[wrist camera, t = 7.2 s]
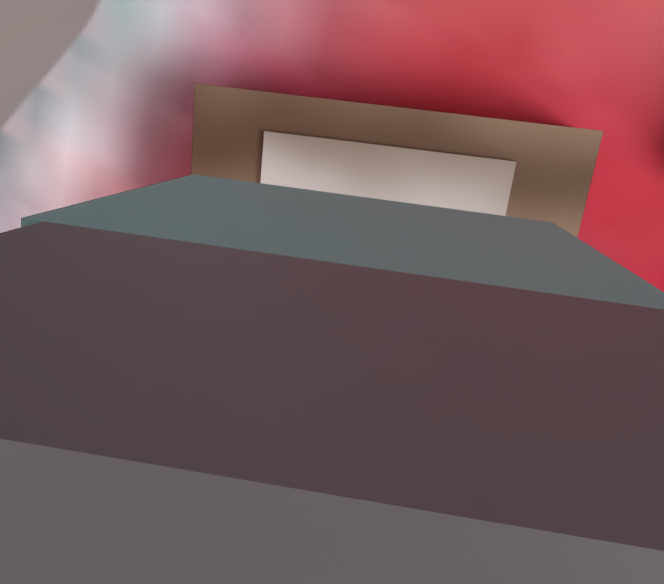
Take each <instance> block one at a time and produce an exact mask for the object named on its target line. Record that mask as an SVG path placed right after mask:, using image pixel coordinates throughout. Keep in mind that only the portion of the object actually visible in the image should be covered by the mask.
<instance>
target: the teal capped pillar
mask: <svg viewBox="0 0 664 584" xmlns="http://www.w3.org/2000/svg"><path fill="white" fill-rule="evenodd" d="M0 584H664V292H662V291H661V290H659V289H658V288H656V287H654V286H653V285H651V284H650V283H648V282H646V281H645V280H643V279H642V278H640V277H639V276H637V275H635V274H634V273H632V272H631V271H629V270H627V269H626V268H624V267H623V266H621V265H619V264H618V263H616V262H615V261H613V260H612V259H610V258H608V257H607V256H605V255H604V254H602V253H600V252H599V251H597V250H596V249H594V248H592V247H591V246H589V245H588V244H586V243H585V242H583V241H581V240H580V239H578V238H577V237H575V236H573V235H572V234H570V233H569V232H567V231H565V230H564V229H562V228H561V227H559V226H558V225H556V224H554V223H553V222H547V221H539V220H532V219H524V218H517V217H509V216H502V215H494V214H487V213H479V212H472V211H465V210H457V209H450V208H442V207H435V206H427V205H420V204H412V203H405V202H397V201H390V200H382V199H375V198H367V197H360V196H353V195H345V194H338V193H330V192H323V191H315V190H308V189H300V188H293V187H285V186H278V185H270V184H263V183H255V182H248V181H241V180H233V179H226V178H218V177H211V176H203V175H196V174H193V175H189V176H185V177H181V178H177V179H173V180H169V181H165V182H162V183H158V184H154V185H150V186H146V187H142V188H138V189H134V190H130V191H126V192H122V193H118V194H114V195H110V196H106V197H102V198H98V199H94V200H90V201H87V202H83V203H79V204H75V205H71V206H67V207H63V208H59V209H55V210H51V211H47V212H43V213H39V214H35V215H31V216H27V217H23V218H21V228H18V229H14V230H10V231H7V232H3V233H0Z"/></svg>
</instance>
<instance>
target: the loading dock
mask: <svg viewBox="0 0 664 584" xmlns="http://www.w3.org/2000/svg"><path fill="white" fill-rule="evenodd" d="M602 135H603V131H599V130H590V129H582V128H573V127H565V126H556V125H547V124H539V123H530V122H522V121H513V120H505V119H496V118H487V117H479V116H470V115H462V114H453V113H444V112H436V111H427V110H419V109H410V108H402V107H393V106H384V105H376V104H367V103H359V102H350V101H341V100H333V99H324V98H316V97H307V96H299V95H290V94H281V93H273V92H264V91H256V90H247V89H239V88H230V87H221V86H213V85H204V84H196V83H195V90H194V116H193V142H192V167H191V175H193V174H196V175H203V176H211V177H218V178H226V179H233V180H241V181H248V182H255V183H263V184H270V185H278V186H285V187H293V188H300V189H308V190H315V191H323V192H330V193H338V194H345V195H353V196H360V197H367V198H375V199H382V200H390V201H397V202H405V203H412V204H420V205H427V206H435V207H442V208H450V209H457V210H465V211H472V212H479V213H487V214H494V215H502V216H509V217H517V218H524V219H532V220H539V221H547V222H553V223H554V224H556V225H558V226H559V227H561V228H562V229H564V230H565V231H567V232H569V233H570V234H572V235H573V236H575V237H578V233H579V229H580V224H581V220H582V216H583V212H584V208H585V204H586V200H587V196H588V192H589V188H590V184H591V179H592V175H593V171H594V167H595V163H596V159H597V155H598V151H599V147H600V143H601V139H602Z"/></svg>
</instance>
